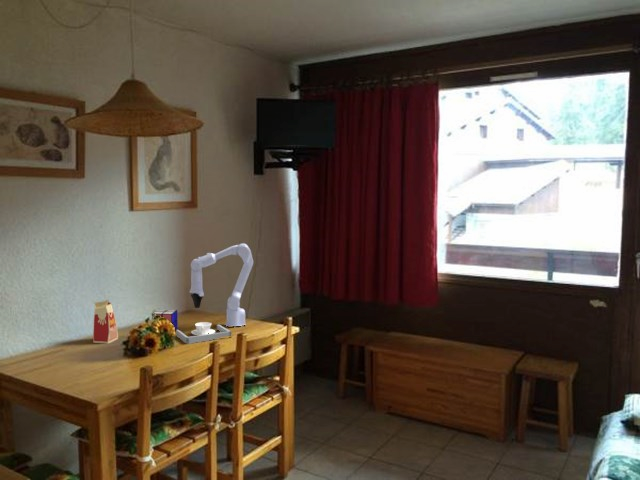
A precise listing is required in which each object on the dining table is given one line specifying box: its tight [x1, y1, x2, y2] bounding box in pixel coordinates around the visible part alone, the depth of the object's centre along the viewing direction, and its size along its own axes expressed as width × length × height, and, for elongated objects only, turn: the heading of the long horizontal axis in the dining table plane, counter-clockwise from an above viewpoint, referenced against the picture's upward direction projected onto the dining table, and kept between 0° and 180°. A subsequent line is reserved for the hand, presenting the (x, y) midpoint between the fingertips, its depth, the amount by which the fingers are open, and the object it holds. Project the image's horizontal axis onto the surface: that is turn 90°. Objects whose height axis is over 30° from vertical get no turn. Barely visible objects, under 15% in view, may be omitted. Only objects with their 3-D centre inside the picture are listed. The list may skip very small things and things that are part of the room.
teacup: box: [190, 321, 217, 336], centre depth 269 cm, size 12×12×5 cm
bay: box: [175, 324, 232, 345], centre depth 265 cm, size 22×16×3 cm
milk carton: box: [92, 299, 119, 345], centre depth 255 cm, size 9×9×20 cm
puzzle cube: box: [151, 308, 179, 330], centre depth 275 cm, size 10×10×10 cm
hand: (197, 307), depth 282 cm, fingers closed
